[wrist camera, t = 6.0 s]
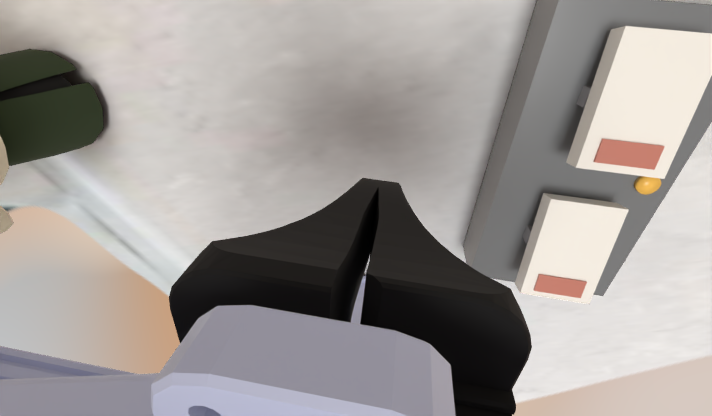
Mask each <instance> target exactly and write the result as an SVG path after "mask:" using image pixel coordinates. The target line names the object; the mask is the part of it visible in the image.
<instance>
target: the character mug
mask: <svg viewBox="0 0 712 416" xmlns="http://www.w3.org/2000/svg"><path fill="white" fill-rule="evenodd" d="M73 70H77V69H76V68H75V67H74V66H73V64H71V63H69V62H68V61H66V60H64V59H62V58H61V57H59V56H57V55H56V54H54V53H52V52H47V51H40V50H33V49H28V50H23V51H18V52H13V53H8V54H3V55H0V185H1V184H2V183H3V181H4V178H5V176H6V174H7V172H8V169H9V166H12V165H16V164H20V163H25V162H29V161H33V160H37V159H42V158H46V157H50V156H55V155H58V154H62V153H65V152H69V151H72V150H76V149H79V148H82V147H84V146H87V145H89V144H92V143H94V141H95V140H96V138H97V137H98V135H99V134H100V133H101V131H102V130H103V108H102V106H101V104H100V102H99V100H98V97H97V95H96V93H95V91H94V88H93V87H92V86H91V85H90V84H89V83H83V84H78V85H74V86H71V84H70V83H69V81H67V80H66V79H65V78H64V77H62V76H61V75H60V74H61V73H65V72H69V71H73ZM13 223H14V222H13V220H12V219H11V217H10V215H9V213H8V212H7V211H6V210H5V209H3V208H2V207H1V206H0V234H1V233H3V232H5V231H7V230H8V229H9V228H10V227H11V226H12V224H13Z"/></svg>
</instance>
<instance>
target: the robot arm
mask: <svg viewBox="0 0 712 416" xmlns="http://www.w3.org/2000/svg"><path fill="white" fill-rule="evenodd" d="M369 255H370V262H369V266H368V269H367V273H366V276H363V275H364V272H365V268H366V265H367V262H368V259H369ZM169 302H170V310H171V313H172V316H173V320H174V324H175V327H176V330H177V334H178V337H179V340H180V345H179V346H178V348H177V349H176V350H175V352H174V353H173V355H172V356H171V357H170V359H169V360H168V362H167V363H166V365H165V366H164V367H163V369H162V370H161V372H160V373H156V374H134V373H130V372H125V371H120V370H115V369H110V368H105V367H100V366H95V365H91V364H85V363H81V362H76V361H71V360H66V359H61V358H56V357H51V356H46V355H41V354H36V353H31V352H26V351H22V350H17V349H12V348H7V347H2V346H0V416H512V414H514V413H515V410H516V404H515V400H514V396H513V392H512V388H513V386H514V384H515V383H516V381H517V379H518V377H519V375H520V373H521V371H522V370H523V368H524V366H525V364H526V362H527V360H528V358H529V354H530V351H531V348H532V346H531V338H530V333H529V330H528V327H527V324H526V321H525V319H524V316H523V314H522V312H521V309H520V307H519V305H518V303H517V301H516V299H515V297H514V295H513V293H512V291H511V289H510V288H508V287H506V286H504V285H502V284H500V283H498V282H497V281H495V280H493V279H491V278H489V277H487V276H485V275H483V274H482V273H480V272H478V271H477V270H475V269H474V268H472V267H470V266H469V265H467V264H466V263H464V262H463V261H461V260H460V259H459V258H457V257H456V256H455V255H453V254H452V253H451V252H450V251H448V250H447V249H446V248H445V247H444V246H442V245H441V244H440V243H439V242H438V241H437V240H436V239H435V238H434V237H433V236H432V235H431V234H430V233H429V232H428V231H427V230H426V229H425V227H424V226H423V225H422V223H421V222H420V221H419V219H418V218H417V216H416V215H415V213H414V212H413V210H412V209H411V207H410V205H409V203H408V202H407V200H406V198H405V196H404V194H403V191H402V189H401V186H400V185H399V183H396V182H388V181H381V180H374V179H366V178H362V179H361V180H360V181H358V182H357V183H356V184H355V185H354V186H353V187H352V188H350V189H349V190H348V191H347V192H346V193H344V194H343V195H342V196H341V197H339V198H338V199H337V200H335V201H334V202H332V203H331V204H329V205H328V206H326V207H325V208H323V209H322V210H320V211H318V212H316V213H314V214H312V215H310V216H308V217H306V218H304V219H301V220H299V221H296V222H294V223H291V224H288V225H286V226H283V227H280V228H277V229H273V230H270V231H266V232H262V233H258V234H254V235H249V236H244V237H238V238H231V239H225V240H218V241H212V242H211V243H210V244H209V245H208V246H207V247H206V248H205V249H204V250H203V251H202V252H201V253H200V254H199V256H198V257H197V258H196V259H195V260H194V261H193V263H192V264H191V265H190V266H189V267H188V268H187V270H186V271H185V272H184V273H183V274H182V275H181V277H180V278H179V279H178V280H177V281H176V282H175V284H174V285H173V286H172V288H171V292H170V296H169Z"/></svg>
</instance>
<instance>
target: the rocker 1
mask: <svg viewBox="0 0 712 416" xmlns="http://www.w3.org/2000/svg"><path fill="white" fill-rule="evenodd" d="M628 211H629V209H627V208H625V207H623V206H622V205H620V204H618V203H615V202H607V201H600V200H593V199H585V198H578V197H570V196H563V195H555V194H548V193H543V196H542V199H541V202H540V205H539V208H538V211H537V215H536V218H535V221H534V224H533V227H532V230H531V233H530V237H529V240H528V243H527V246H526V249H525V252H524V256H523V259H522V262H521V265H520V268H519V271H518V274H517V278H516V281H515V285H516V286H517V288H518V290H519V292H520V293H522V294H528V295H534V296H540V297H547V298H553V299H559V300H565V301H571V302H577V303H584V304H589V303H590V301H591V299H592V296H593V294H594V292H595V289H596V287H597V284H598V282H599V280H600V277H601V275H602V273H603V270H604V268H605V265H606V263H607V261H608V258H609V256H610V253H611V251H612V249H613V246H614V244H615V242H616V239H617V237H618V234H619V232H620V230H621V227H622V225H623V223H624V220H625V218H626V215H627V213H628Z"/></svg>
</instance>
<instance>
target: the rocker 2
mask: <svg viewBox="0 0 712 416" xmlns="http://www.w3.org/2000/svg"><path fill="white" fill-rule="evenodd" d="M711 76H712V34H711V33H699V32H688V31H677V30H666V29H655V28H643V27H632V26H623V27H619V28H615V29H611V31H610V34H609V37H608V40H607V42H606V45H605V48H604V51H603V54H602V57H601V60H600V63H599V66H598V69H597V72H596V75H595V78H594V81H593V84H592V87H591V90H590V93H589V96H588V99H587V102H586V105H585V108H584V111H583V113H582V116H581V119H580V122H579V125H578V128H577V131H576V134H575V137H574V140H573V143H572V146H571V149H570V152H569V155H568V158H567V161H566V163H568V164H570V165H572V166H574V167H575V168H582V169H590V170H597V171H605V172H613V173H621V174H629V175H637V176H645V177H653V178H661V179H665V176H666V174H667V172H668V170H669V168H670V165H671V163H672V161H673V159H674V157H675V155H676V152H677V150H678V148H679V146H680V144H681V141H682V139H683V137H684V135H685V133H686V130H687V128H688V126H689V124H690V122H691V119H692V117H693V115H694V113H695V111H696V109H697V106H698V104H699V102H700V100H701V98H702V95H703V93H704V91H705V89H706V87H707V84H708V82H709V80H710V78H711Z"/></svg>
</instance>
